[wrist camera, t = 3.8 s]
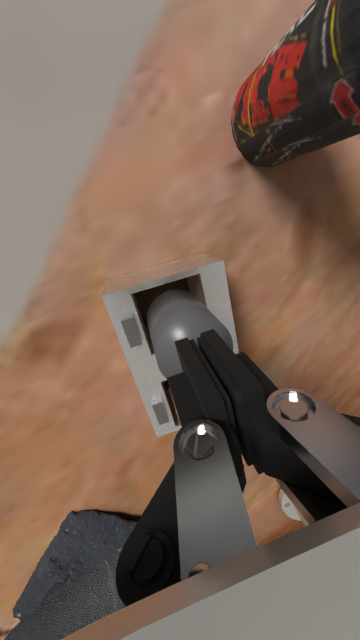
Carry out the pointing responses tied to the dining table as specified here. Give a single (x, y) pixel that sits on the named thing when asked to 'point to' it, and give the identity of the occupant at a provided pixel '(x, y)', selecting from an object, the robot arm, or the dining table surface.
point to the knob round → (179, 326)
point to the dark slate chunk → (73, 555)
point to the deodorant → (303, 88)
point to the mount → (135, 338)
